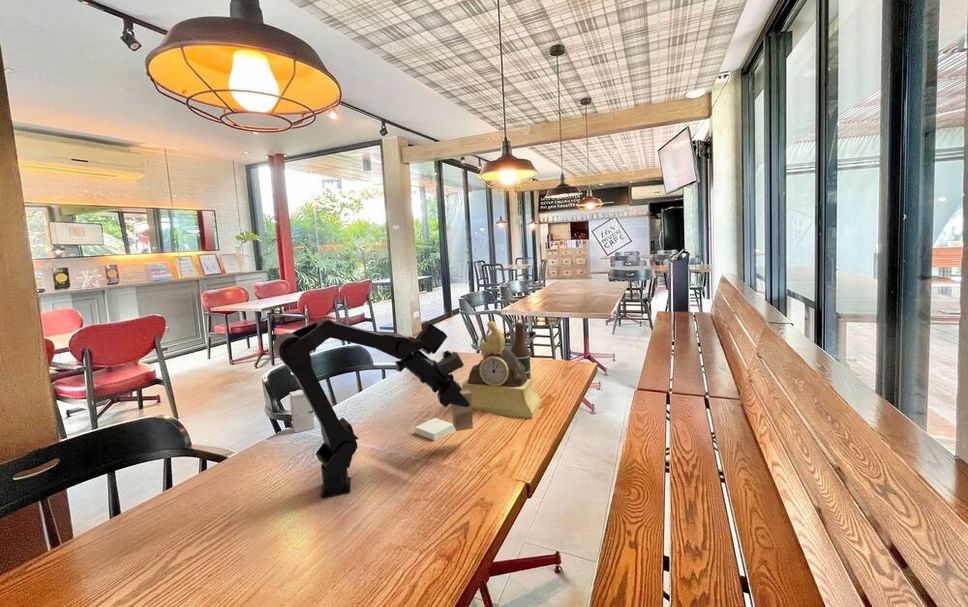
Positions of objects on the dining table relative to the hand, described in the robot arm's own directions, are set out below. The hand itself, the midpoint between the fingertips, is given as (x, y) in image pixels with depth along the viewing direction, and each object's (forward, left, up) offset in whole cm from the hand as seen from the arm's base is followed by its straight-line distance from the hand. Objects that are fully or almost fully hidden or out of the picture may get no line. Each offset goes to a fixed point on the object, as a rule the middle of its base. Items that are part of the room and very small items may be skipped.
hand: (466, 402), depth 116 cm
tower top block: (+11, +8, -12) cm, 18 cm away
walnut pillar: (0, +1, -7) cm, 7 cm away
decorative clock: (+26, -16, -14) cm, 34 cm away
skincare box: (+32, +46, -14) cm, 58 cm away
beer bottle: (+48, -34, -14) cm, 60 cm away
